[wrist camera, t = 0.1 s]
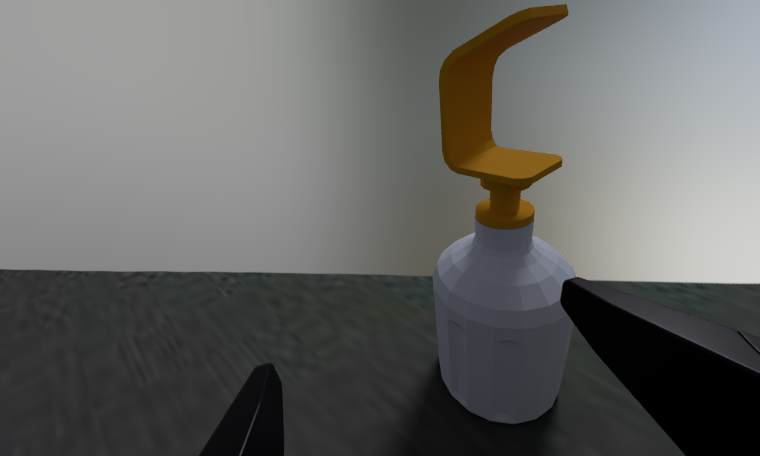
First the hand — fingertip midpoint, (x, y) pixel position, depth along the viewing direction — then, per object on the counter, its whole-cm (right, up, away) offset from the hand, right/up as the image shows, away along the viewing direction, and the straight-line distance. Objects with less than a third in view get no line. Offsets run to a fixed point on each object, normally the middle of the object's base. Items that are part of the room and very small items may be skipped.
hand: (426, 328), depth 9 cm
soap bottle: (+8, -9, +16) cm, 21 cm away
